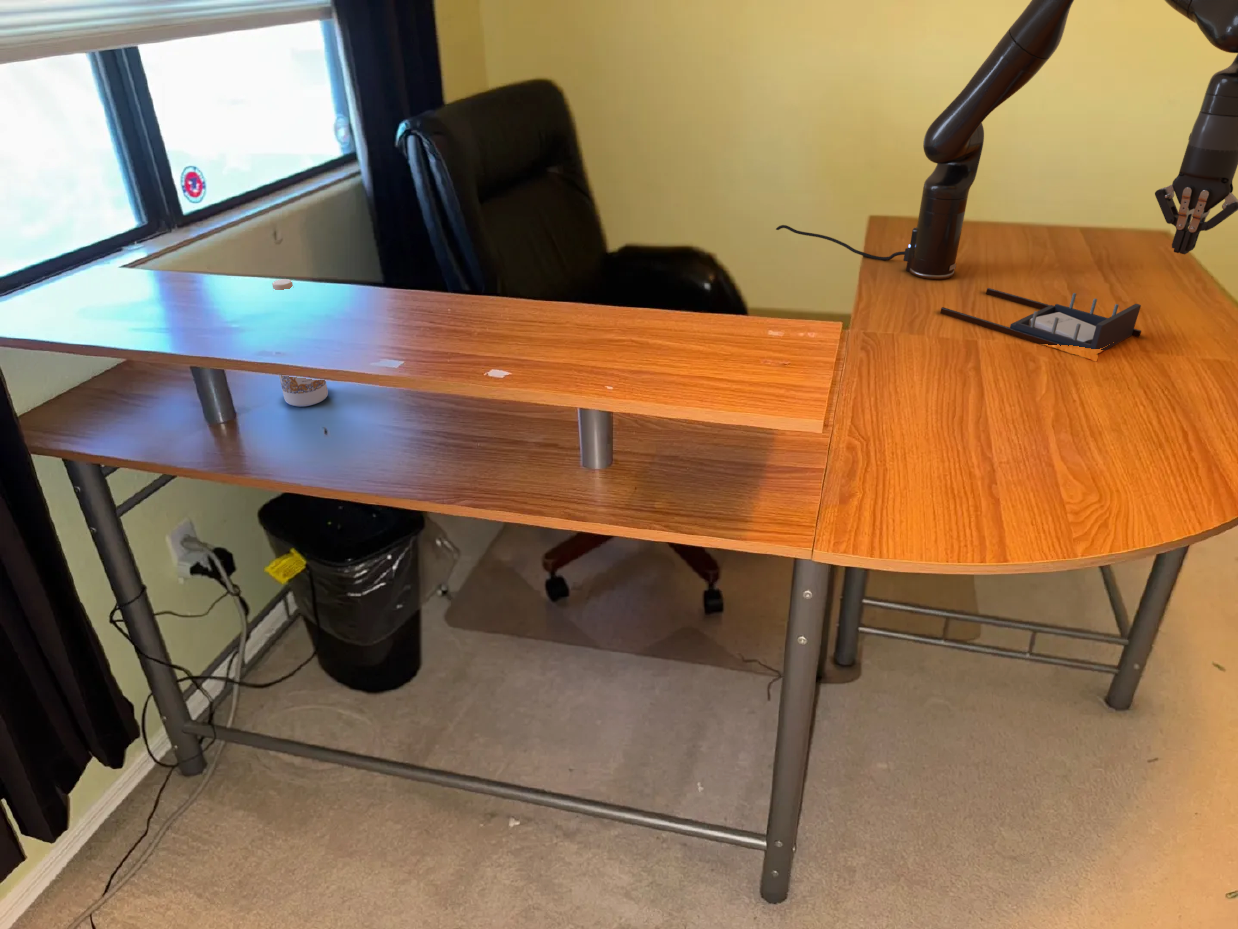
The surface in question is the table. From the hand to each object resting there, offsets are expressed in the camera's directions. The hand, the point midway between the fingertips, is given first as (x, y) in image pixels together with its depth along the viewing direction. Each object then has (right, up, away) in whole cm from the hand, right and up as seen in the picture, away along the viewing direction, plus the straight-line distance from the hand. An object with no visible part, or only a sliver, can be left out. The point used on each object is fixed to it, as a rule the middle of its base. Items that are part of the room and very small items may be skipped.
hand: (1180, 252), depth 146 cm
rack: (-9, -11, +19) cm, 24 cm away
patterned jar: (-145, -25, 0) cm, 147 cm away
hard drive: (-9, -11, +19) cm, 24 cm away
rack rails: (-13, -8, +23) cm, 28 cm away
